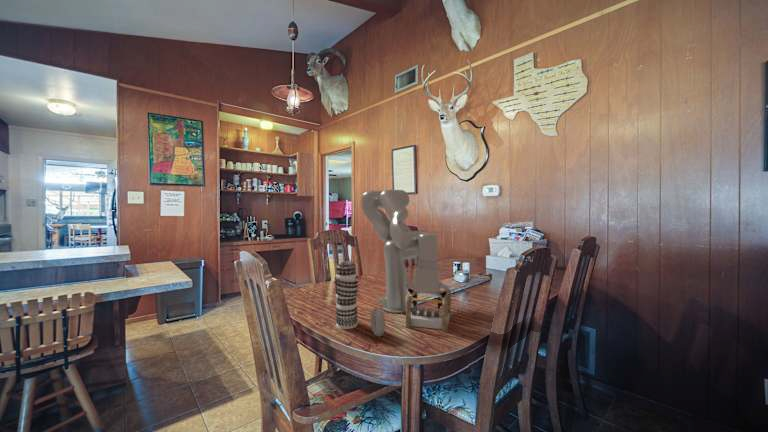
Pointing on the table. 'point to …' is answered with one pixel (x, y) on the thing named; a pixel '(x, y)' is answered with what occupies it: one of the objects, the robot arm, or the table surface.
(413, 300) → the cord front
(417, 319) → the breaker panel
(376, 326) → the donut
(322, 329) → the table surface
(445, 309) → the cord posts
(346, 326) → the decorative candle
